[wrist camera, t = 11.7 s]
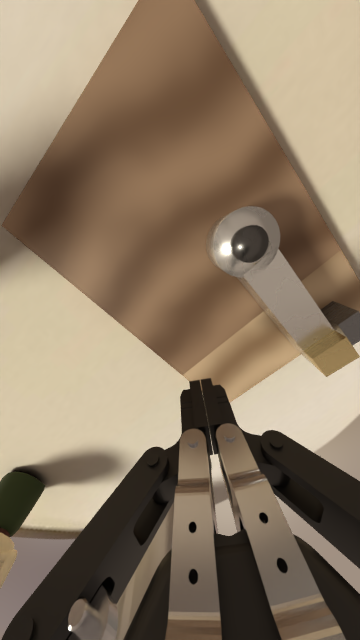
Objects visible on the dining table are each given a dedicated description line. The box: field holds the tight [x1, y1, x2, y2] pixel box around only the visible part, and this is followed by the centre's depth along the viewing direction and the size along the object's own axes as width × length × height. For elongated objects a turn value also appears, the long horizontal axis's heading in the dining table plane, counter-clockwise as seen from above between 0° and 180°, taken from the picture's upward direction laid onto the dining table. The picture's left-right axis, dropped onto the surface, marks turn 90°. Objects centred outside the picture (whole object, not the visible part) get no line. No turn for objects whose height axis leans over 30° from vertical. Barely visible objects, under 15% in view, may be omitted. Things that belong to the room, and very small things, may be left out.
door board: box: [2, 0, 360, 403], centre depth 17 cm, size 28×19×1 cm
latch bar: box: [206, 206, 360, 377], centre depth 15 cm, size 15×4×5 cm, turn 43°
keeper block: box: [321, 301, 360, 345], centre depth 17 cm, size 3×2×3 cm, turn 44°
